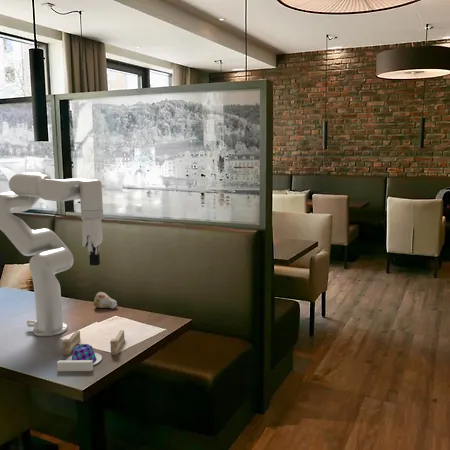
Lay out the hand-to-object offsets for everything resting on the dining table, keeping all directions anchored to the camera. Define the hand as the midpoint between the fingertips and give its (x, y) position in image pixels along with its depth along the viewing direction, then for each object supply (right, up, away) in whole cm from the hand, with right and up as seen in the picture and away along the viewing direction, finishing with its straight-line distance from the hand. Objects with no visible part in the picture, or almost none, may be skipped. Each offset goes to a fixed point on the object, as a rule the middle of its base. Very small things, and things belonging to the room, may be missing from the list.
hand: (94, 264), depth 174 cm
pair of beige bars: (0, -29, 0) cm, 29 cm away
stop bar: (-1, -32, -18) cm, 37 cm away
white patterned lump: (-6, -23, +42) cm, 48 cm away
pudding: (-1, -32, -12) cm, 34 cm away
